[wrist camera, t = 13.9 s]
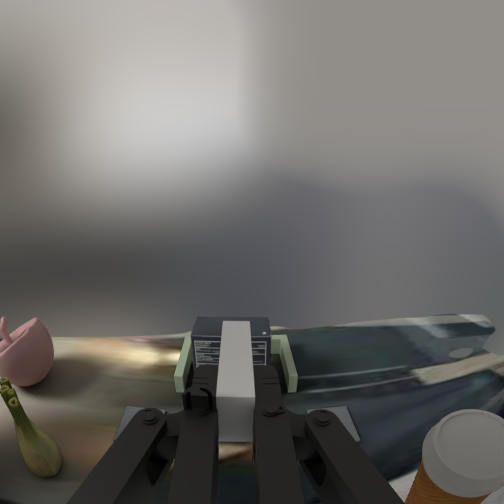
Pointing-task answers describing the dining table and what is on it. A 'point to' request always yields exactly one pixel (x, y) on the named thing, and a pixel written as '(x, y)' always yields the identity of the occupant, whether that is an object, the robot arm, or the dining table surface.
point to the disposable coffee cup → (460, 460)
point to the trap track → (277, 347)
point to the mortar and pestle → (25, 353)
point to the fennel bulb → (31, 437)
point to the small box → (209, 339)
